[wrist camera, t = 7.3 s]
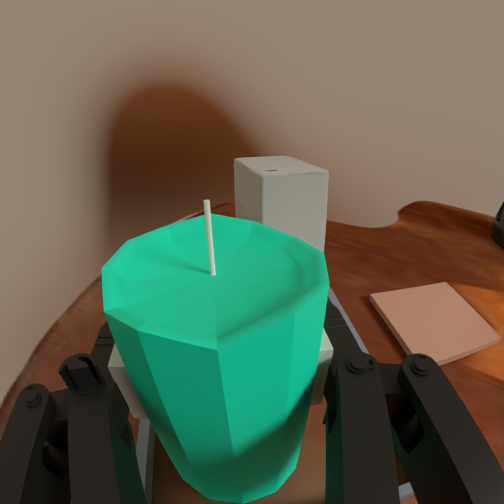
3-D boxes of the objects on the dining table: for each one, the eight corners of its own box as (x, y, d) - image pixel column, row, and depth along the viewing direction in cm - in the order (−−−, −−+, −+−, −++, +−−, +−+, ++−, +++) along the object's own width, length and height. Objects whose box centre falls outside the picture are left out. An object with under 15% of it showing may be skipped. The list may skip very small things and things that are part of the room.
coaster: (444, 287, 26) (445, 281, 26) (497, 343, 18) (500, 337, 18) (368, 299, 26) (370, 294, 25) (418, 372, 18) (421, 366, 17)
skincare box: (316, 337, 22) (332, 170, 16) (261, 352, 21) (259, 175, 15) (285, 294, 27) (288, 153, 22) (237, 303, 26) (230, 157, 20)
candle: (175, 407, 15) (119, 183, 10) (284, 397, 16) (296, 169, 10) (174, 506, 10) (34, 274, 4) (311, 493, 10) (389, 244, 5)
